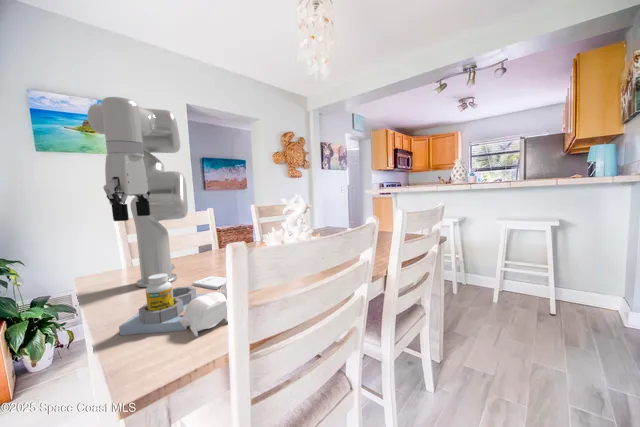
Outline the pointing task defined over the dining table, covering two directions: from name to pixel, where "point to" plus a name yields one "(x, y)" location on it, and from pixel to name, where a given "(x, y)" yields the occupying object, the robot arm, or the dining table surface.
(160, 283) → the supplement bottle
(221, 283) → the external hard drive
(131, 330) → the socket board
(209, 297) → the white figurine
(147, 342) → the dining table surface
